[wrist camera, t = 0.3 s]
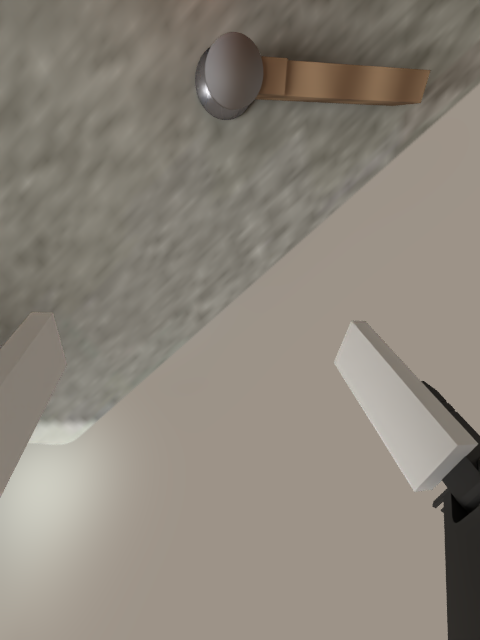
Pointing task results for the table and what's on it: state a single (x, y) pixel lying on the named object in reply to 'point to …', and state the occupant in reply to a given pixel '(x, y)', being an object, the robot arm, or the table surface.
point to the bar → (302, 78)
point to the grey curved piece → (206, 98)
